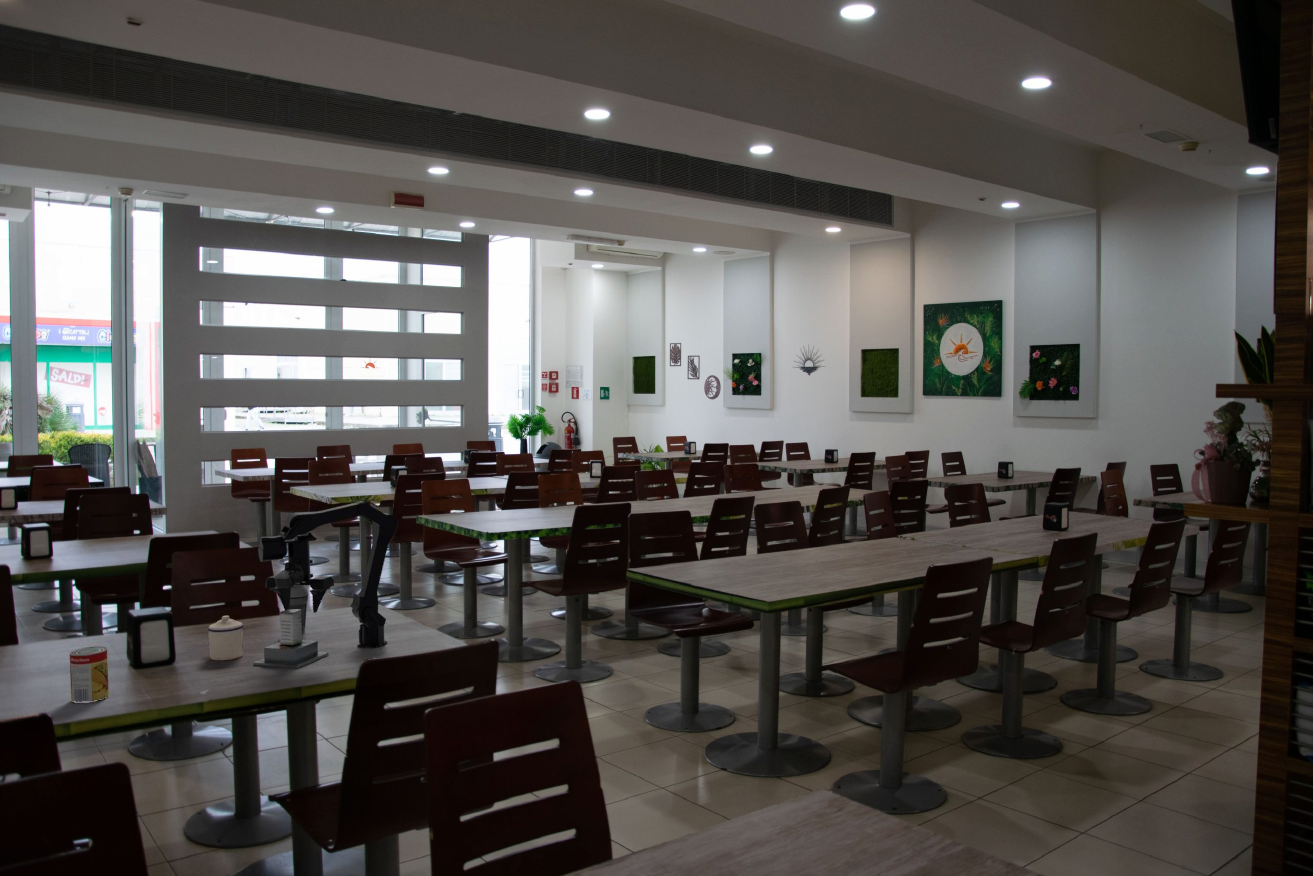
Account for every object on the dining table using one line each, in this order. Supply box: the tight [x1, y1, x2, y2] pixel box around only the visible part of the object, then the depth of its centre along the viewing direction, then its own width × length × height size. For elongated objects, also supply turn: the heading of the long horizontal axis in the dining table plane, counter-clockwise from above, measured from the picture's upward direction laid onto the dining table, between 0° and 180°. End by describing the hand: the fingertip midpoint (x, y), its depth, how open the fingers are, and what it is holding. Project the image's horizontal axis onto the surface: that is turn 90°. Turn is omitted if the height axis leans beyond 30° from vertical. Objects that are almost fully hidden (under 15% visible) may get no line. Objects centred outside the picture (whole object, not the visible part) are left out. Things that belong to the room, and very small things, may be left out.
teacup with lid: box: [207, 615, 244, 662], centre depth 268 cm, size 12×9×12 cm
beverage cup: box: [289, 585, 310, 634], centre depth 295 cm, size 7×7×20 cm
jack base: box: [252, 639, 329, 670], centre depth 263 cm, size 14×14×5 cm
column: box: [279, 609, 303, 645], centre depth 263 cm, size 4×4×9 cm
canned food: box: [69, 645, 110, 702], centre depth 229 cm, size 8×8×12 cm
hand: (301, 612), depth 267 cm, fingers open, 9 cm apart
